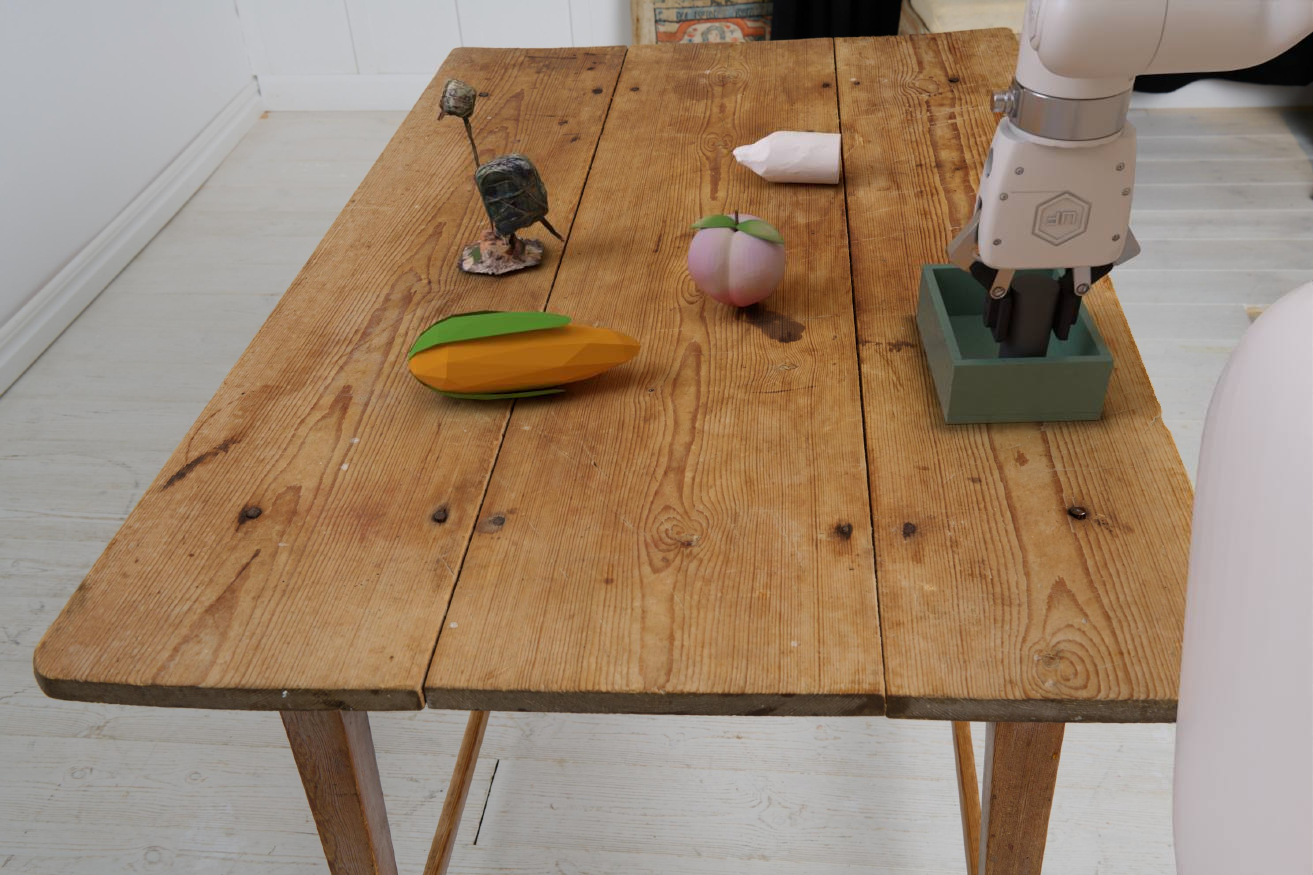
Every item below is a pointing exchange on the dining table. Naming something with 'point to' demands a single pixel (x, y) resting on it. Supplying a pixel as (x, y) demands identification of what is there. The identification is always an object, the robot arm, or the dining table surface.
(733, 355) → the dining table surface
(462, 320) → the corn
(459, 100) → the long necked figurine
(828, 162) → the white pointed cylinder
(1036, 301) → the dark grey cylinder
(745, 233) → the decorative fruit
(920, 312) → the bin
